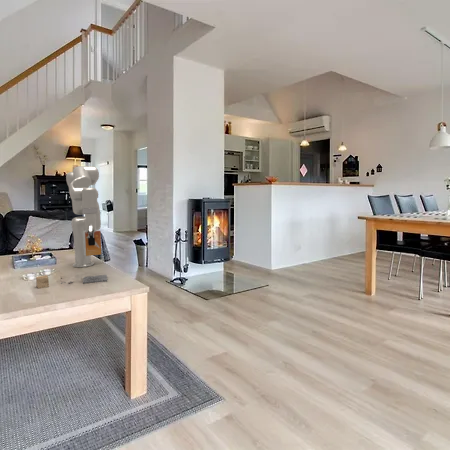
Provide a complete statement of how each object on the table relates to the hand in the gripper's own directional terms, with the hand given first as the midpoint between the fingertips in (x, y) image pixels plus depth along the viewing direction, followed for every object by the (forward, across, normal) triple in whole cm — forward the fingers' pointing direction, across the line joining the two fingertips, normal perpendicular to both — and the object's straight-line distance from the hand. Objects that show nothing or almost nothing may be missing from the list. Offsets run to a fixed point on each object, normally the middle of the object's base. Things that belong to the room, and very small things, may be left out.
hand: (92, 244), depth 185 cm
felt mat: (+20, 0, +1) cm, 20 cm away
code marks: (+20, +1, -13) cm, 24 cm away
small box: (+6, 0, 0) cm, 6 cm away
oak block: (+20, +4, -24) cm, 32 cm away
